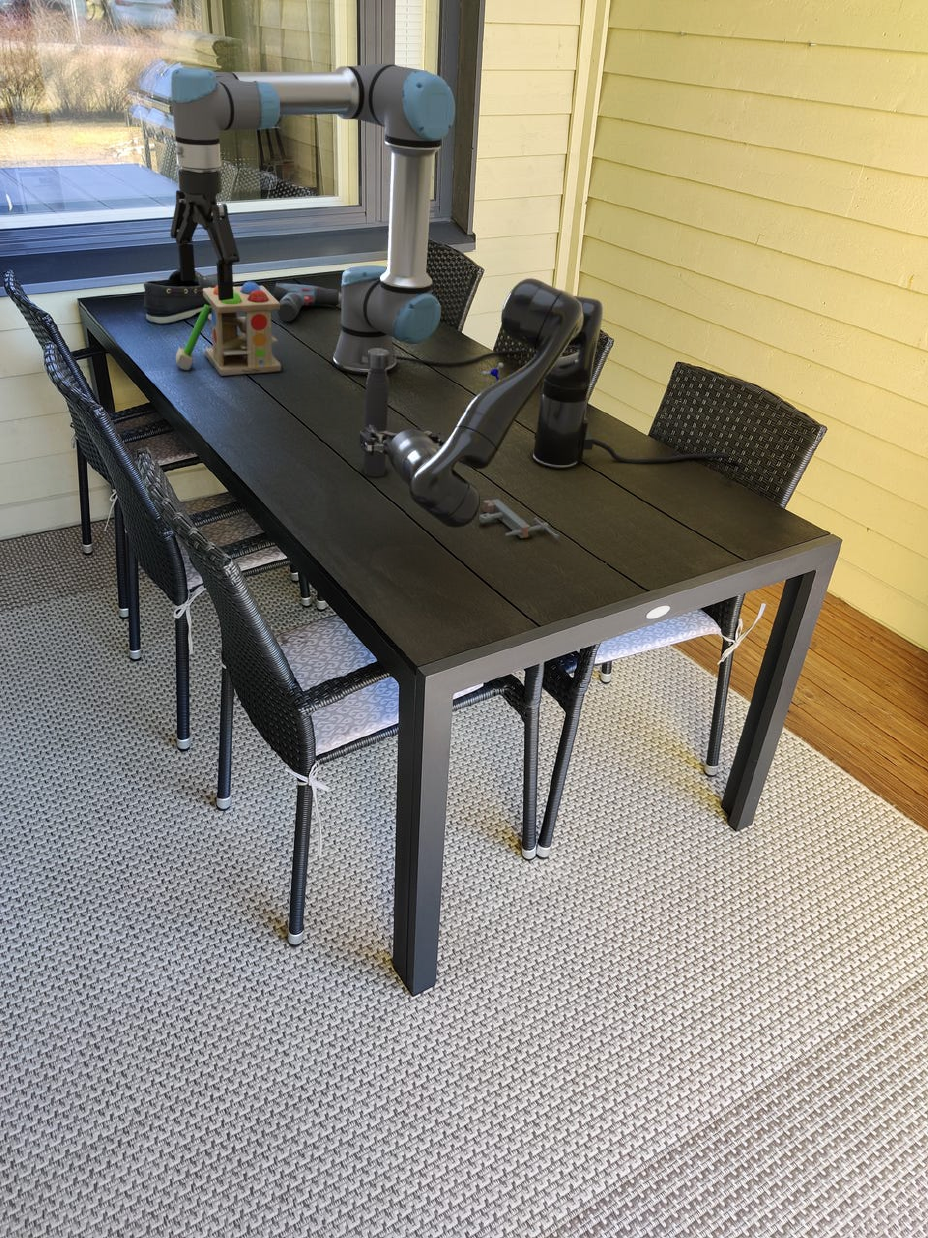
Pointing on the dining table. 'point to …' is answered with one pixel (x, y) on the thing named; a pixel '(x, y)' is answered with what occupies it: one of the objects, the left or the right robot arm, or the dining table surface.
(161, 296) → the boat shoe
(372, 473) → the dark grey cylinder
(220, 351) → the pounding bench toy
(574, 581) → the dining table surface
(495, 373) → the molecular model
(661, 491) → the dining table surface
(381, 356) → the cap
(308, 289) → the power drill
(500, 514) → the clamp
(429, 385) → the dining table surface
